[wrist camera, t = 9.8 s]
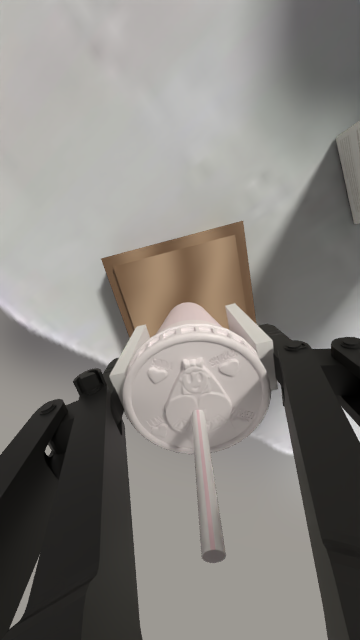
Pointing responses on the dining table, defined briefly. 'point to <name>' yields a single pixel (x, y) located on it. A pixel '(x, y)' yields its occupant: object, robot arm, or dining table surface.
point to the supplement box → (351, 166)
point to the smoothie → (197, 400)
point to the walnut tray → (183, 277)
